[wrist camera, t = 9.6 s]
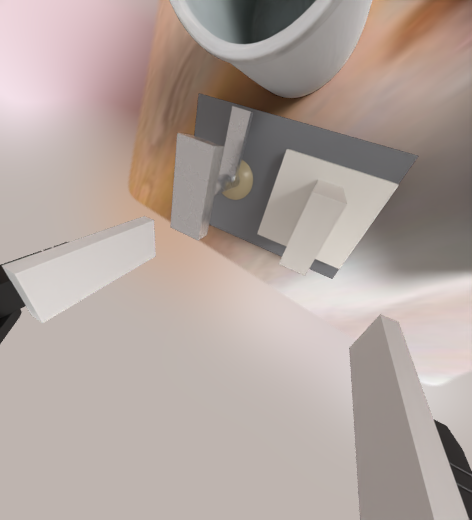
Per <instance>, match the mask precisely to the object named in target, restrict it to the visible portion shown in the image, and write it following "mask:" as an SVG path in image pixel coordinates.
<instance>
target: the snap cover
mask: <svg viewBox="0 0 472 520" xmlns="http://www.w3.org/2000/svg"><path fill="white" fill-rule="evenodd" d="M398 186H399V185H398V184H396V183H394V182H391V181H388V180H385V179H382V178H379V177H375V176H372V175H369V174H366V173H363V172H360V171H357V170H353V169H350V168H347V167H344V166H341V165H338V164H335V163H331V162H328V161H325V160H322V159H319V158H316V157H313V156H310V155H306V154H303V153H300V152H297V151H294V150H291V149H287V150H286V153H285V155H284V158H283V161H282V164H281V167H280V170H279V173H278V176H277V178H276V181H275V184H274V187H273V190H272V193H271V196H270V198H269V201H268V204H267V207H266V210H265V213H264V216H263V219H262V221H261V224H260V227H259V230H258V233H257V234H258V235H261V236H263V237H265V238H268V239H270V240H272V241H275V242H277V243H279V244H282V245H284V246H286V249H285V251H284V253H283V256H282V258H281V260H280V262H279V264H280V265H282V266H284V267H286V268H288V269H291V270H293V271H295V272H297V273H299V274H302V275H304V276H305V275H306V273H307V272H308V270H309V268H310V267H311V265H312V263H313V261H314V260H315V259H317V260H319V261H321V262H324V263H326V264H328V265H331V266H333V267H335V268H338V269H340V268H341V266H342V265H343V264H344V262H345V261H346V259H347V258H348V257H349V255H350V254H351V252H352V251H353V249H354V248H355V247H356V245H357V244H358V242H359V241H360V240H361V238H362V237H363V235H364V234H365V232H366V231H367V230H368V228H369V227H370V225H371V224H372V223H373V221H374V220H375V218H376V217H377V215H378V214H379V213H380V211H381V210H382V208H383V207H384V206H385V204H386V203H387V201H388V200H389V198H390V197H391V196H392V194H393V193H394V191H395V190H396V188H397V187H398Z"/></svg>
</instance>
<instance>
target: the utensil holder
mask: <svg viewBox="0 0 472 520" xmlns="http://www.w3.org/2000/svg"><path fill="white" fill-rule="evenodd" d="M170 3H171V5H172V7H173V9H174V11H175V13H176V15H177V17H178V19H179V20H180V22H181V23H182V25H183V26H184V28H185V29H186V31H187V32H188V33H189V34H190V36H191V37H192V38H193V39H194V40H195V41H196V42H197V43H198V44H199V45H200V46H201V47H202V48H204V49H205V50H206V51H208V52H209V53H210V54H212V55H214V56H215V57H217V58H219V59H221V60H223V61H226V62H228V63H231V64H232V65H233V66H235V67H236V68H237V69H239V70H240V71H241V72H243V73H244V74H245V75H247V76H248V77H249V78H251V79H252V80H253V81H255V82H256V83H258V84H259V85H260V86H262V87H263V88H265V89H267V90H268V91H270V92H272V93H273V94H276V95H278V96H281V97H285V98H297V97H301V96H305V95H308V94H310V93H312V92H314V91H316V90H318V89H319V88H321V87H322V86H324V85H325V84H326V83H327V82H329V81H330V80H331V79H332V78H333V77H334V76H335V75H336V74H337V73H338V72H339V70H340V69H341V68H342V67H343V66H344V64H345V63H346V61H347V60H348V59H349V57H350V55H351V54H352V52H353V50H354V48H355V46H356V45H357V42H358V40H359V38H360V36H361V33H362V31H363V28H364V26H365V23H366V20H367V17H368V13H369V10H370V6H371V3H372V0H170Z"/></svg>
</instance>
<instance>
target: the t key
mask: <svg viewBox="0 0 472 520" xmlns="http://www.w3.org/2000/svg"><path fill="white" fill-rule="evenodd" d="M252 117H253V112H250V111H247V110H244V109H241V108H237V107H234V106H232V111H231V116H230V121H229V126H228V131H227V136H226V141H225V146H221V145H219V144H216V143H213V142H210V141H207V140H205V139H202V138H199V137H196V136H193V135H191V134H183V133H177V144H176V158H175V172H174V186H173V199H172V213H171V228H173V229H175V230H177V231H179V232H182V233H183V234H185V235H188V236H190V237H192V238H194V239H196V240H200V239H201V238H203V237H204V236H206V235H207V232H208V226H209V221H210V216H211V211H212V206H213V201H214V196H215V195H216V194H219V193H222V192H224V191H227V190H230V189H232V188H235V187H237V186H238V185H239V183H240V177H239V175H238V173H239V169H240V165H241V161H242V157H243V153H244V149H245V145H246V141H247V137H248V133H249V129H250V125H251V121H252ZM223 150H224V152H223ZM222 155H223V157H222ZM221 160H222V162H221ZM220 166H221V167H220ZM219 171H220V172H219Z"/></svg>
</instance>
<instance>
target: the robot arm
mask: <svg viewBox="0 0 472 520" xmlns="http://www.w3.org/2000/svg"><path fill="white" fill-rule="evenodd" d="M155 256H156V254H155V231H154V220H153V219H150V218H148V217H145V216H143V217H140V218H137V219H134V220H131V221H129V222H126V223H123V224H120V225H117V226H114V227H111V228H108V229H106V230H103V231H100V232H97V233H94V234H91V235H88V236H85V237H83V238H80V239H77V240H74V241H71V242H65V243H63V244H60V245H57V246H54V247H53V248H48V249H45V250H44V251H39V252H37V253H33V254H31V255H28V256H25V257H22V258H19V259H16V260H13V261H11V262H8V263H4V264H1V265H0V343H1V342H2V341H3V339H4V338H5V337H6V335H7V334H8V332H9V331H10V330H11V328H12V327H13V325H14V324H15V323H16V321H17V320H18V318H19V317H20V315H21V310H20V308H22V307H24V306H26V307H27V309H28V311H29V312H30V314H31V315H32V316H34V317H35V318H36V319H37V320H39V321H40V322H42V323H44V322H45V321H47V320H49V319H50V318H52V317H54V316H55V315H57V314H59V313H61V312H62V311H64V310H66V309H67V308H69V307H71V306H72V305H74V304H76V303H77V302H79V301H81V300H82V299H84V298H86V297H88V296H89V295H91V294H93V293H94V292H96V291H98V290H99V289H101V288H102V287H104V286H106V285H108V284H110V283H111V282H113V281H115V280H116V279H118V278H120V277H121V276H123V275H125V274H127V273H128V272H130V271H132V270H133V269H135V268H136V267H138V266H140V265H142V264H143V263H145V262H147V261H148V260H150V259H152V258H154V257H155ZM349 349H350V366H351V382H352V397H353V413H354V430H355V445H356V460H357V461H356V462H357V476H358V494H359V510H360V520H472V471H471V469H470V467H469V464H468V462H467V459H466V457H465V454H464V452H463V450H462V448H461V447H460V445H459V444H458V442H457V441H456V439H455V438H454V436H453V435H452V433H451V432H450V430H449V429H448V427H447V426H446V425H444V424H442V423H440V422H438V421H436V420H434V419H433V417H432V414H431V412H430V409H429V406H428V403H427V400H426V397H425V395H424V392H423V389H422V386H421V383H420V381H419V378H418V375H417V372H416V369H415V367H414V364H413V361H412V358H411V355H410V352H409V350H408V347H407V344H406V341H405V338H404V336H403V333H402V330H401V327H400V324H399V322H397V321H395V320H393V319H390V318H388V317H385V316H383V315H381V314H380V315H379V316H378V317H377V319H376V320H375V321H374V322H373V323H372V324H371V325H370V326H369V327H368V328H367V329H366V331H365V332H364V333H363V334H362V335H361V336H360V337H359V338H358V339H357V340H356V341H355V342H354V344H353V345H352V346H351V347H350V348H349Z"/></svg>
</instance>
